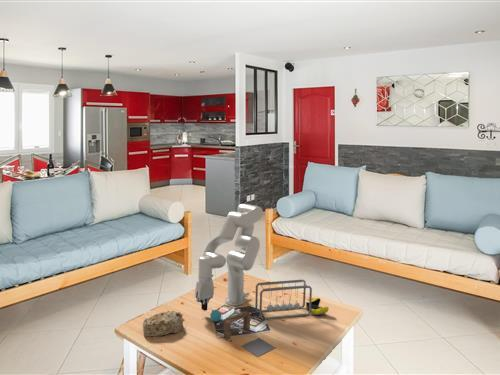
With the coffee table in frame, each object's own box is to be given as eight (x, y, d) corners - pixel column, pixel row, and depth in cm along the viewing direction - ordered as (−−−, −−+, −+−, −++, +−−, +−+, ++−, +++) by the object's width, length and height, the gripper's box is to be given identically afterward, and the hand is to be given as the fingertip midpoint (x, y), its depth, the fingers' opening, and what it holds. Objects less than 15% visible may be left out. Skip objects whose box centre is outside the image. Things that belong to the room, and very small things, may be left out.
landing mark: (258, 337, 207) (258, 337, 207) (275, 347, 198) (275, 347, 198) (240, 346, 199) (240, 345, 199) (257, 356, 190) (257, 356, 190)
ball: (216, 317, 228) (216, 307, 227) (223, 321, 224) (223, 311, 223) (208, 320, 224) (208, 310, 223) (214, 324, 220) (214, 314, 219)
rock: (144, 342, 204) (141, 321, 204) (144, 334, 218) (141, 315, 218) (185, 332, 209) (182, 312, 209) (182, 325, 223) (180, 307, 223)
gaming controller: (318, 305, 246) (303, 306, 244) (319, 296, 245) (303, 297, 243) (329, 316, 232) (313, 318, 229) (330, 307, 231) (313, 309, 228)
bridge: (223, 337, 207) (223, 319, 205) (246, 328, 217) (246, 310, 215) (227, 340, 205) (227, 322, 203) (249, 330, 214) (250, 313, 213)
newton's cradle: (304, 307, 242) (305, 278, 239) (311, 315, 232) (312, 285, 229) (255, 312, 235) (255, 282, 232) (259, 320, 225) (260, 290, 222)
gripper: (212, 273, 235) (211, 304, 237) (190, 279, 225) (189, 311, 227) (220, 277, 229) (219, 308, 232) (197, 283, 219) (197, 315, 222)
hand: (204, 309), depth 230 cm, fingers closed
